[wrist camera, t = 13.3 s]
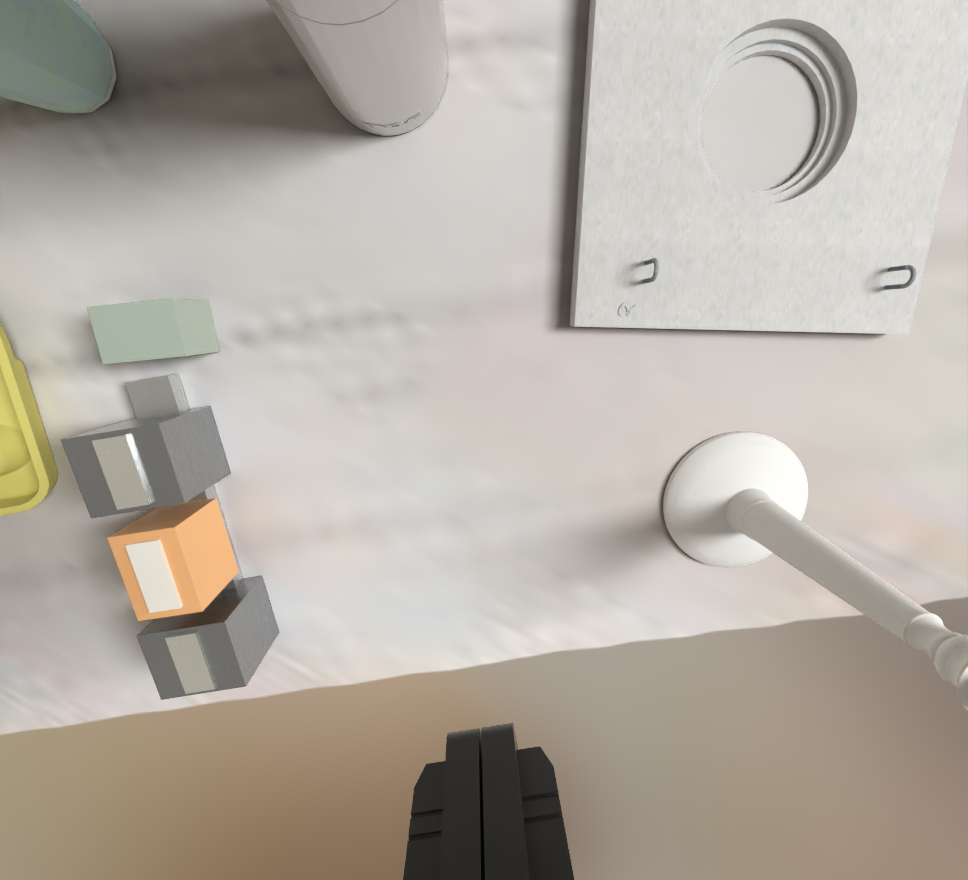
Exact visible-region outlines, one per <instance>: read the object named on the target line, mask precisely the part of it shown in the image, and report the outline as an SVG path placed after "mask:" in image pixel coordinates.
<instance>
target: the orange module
mask: <svg viewBox="0 0 968 880" xmlns="http://www.w3.org/2000/svg"><path fill="white" fill-rule="evenodd" d="M107 539H108V541H109V544H110V547H111V549H112V552H113V555H114V557H115V560H116V563H117V566H118V568H119V571H120V574H121V576H122V579H123V582H124V584H125V587H126V590H127V593H128V595H129V598H130V601H131V603H132V606H133V609H134V611H135V614H136V617H137V620H138V621H143V620H150V619H156V618H163V617H170V616H176V615H183V614H190V613H196V612H203V611H204V609H205V608H206V607H207V606H208V605H209V604H210V603H211V602H212V601H213V600H214V599H215V597H216V596H217V595H218V594H219V593H220V592H221V591H222V590H223V589H224V588H225V586H226V585H227V584H228V583H229V582H230V581H231V580H232V579H233V578H234V577H235V576H236V574H237V573H238V572H239V570H238V567H237V564H236V561H235V557H234V554H233V551H232V547H231V544H230V541H229V538H228V534H227V531H226V528H225V524H224V521H223V518H222V514H221V511H220V508H219V505H218V501H217V498H212V499H206V500H199V501H193V502H186V503H182V504H176V505H169V506H163V507H157V508H155V509H154V510H152V511H151V512H149V513H147V514H146V515H144V516H142V517H141V518H139V519H137V520H136V521H134V522H132V523H131V524H129V525H127V526H126V527H124V528H122V529H121V530H119V531H117V532H116V533H114V534H112V535H111V536H109V537H107Z"/></svg>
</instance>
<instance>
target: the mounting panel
mask: <svg viewBox="0 0 968 880" xmlns="http://www.w3.org/2000/svg"><path fill="white" fill-rule="evenodd" d="M760 55H774V56H778V57H782V58H785V59H787V60H789V61H791V62H793V63H795V64H796V65H797V66H798V67H800V68H801V69H802V70H803V71H804V72H805V73H806V75H807V76H808V77H809V78H810V80H811V82H812V84H813V86H814V88H815V91H816V94H817V97H818V101H819V108H820V124H819V130H818V135H817V138H816V142H815V145H814V147H813V149H812V151H811V153H810V155H809V157H808V159H807V160H806V162H805V163H804V165H803V166H802V168H801V169H800V170H799V171H798V172H797V173H796V174H795V175H794V176H793V177H792V178H790V179H789V180H788V181H787V182H785V183H784V184H782V185H780V186H779V187H777V188H774V189H771V190H766V191H760V192H755V191H745V190H741V189H738V188H736V187H734V186H731V185H729V184H728V183H727V182H725V181H724V180H723V179H721V178H720V177H719V176H718V174H717V173H716V172H715V171H714V170H713V168H712V167H711V165H710V163H709V162H708V159H707V157H706V154H705V151H704V147H703V142H702V130H701V126H702V118H703V112H704V108H705V105H706V102H707V99H708V97H709V95H710V92H711V90H712V89H713V87H714V85H715V84H716V82H717V81H718V79H719V78H720V77H721V76H722V75H723V73H724V72H726V71H727V70H728V69H729V68H730V67H732V66H733V65H735V64H737V63H738V62H740V61H742V60H745V59H748V58H750V57H754V56H760ZM967 80H968V0H590V7H589V23H588V38H587V54H586V70H585V86H584V101H583V117H582V133H581V149H580V165H579V180H578V196H577V212H576V228H575V243H574V259H573V275H572V291H571V307H570V322H569V326H574V327H617V328H660V329H703V330H746V331H789V332H832V333H875V334H910V331H911V326H912V322H913V317H914V313H915V309H916V304H917V300H918V295H919V291H920V287H921V282H922V278H923V273H924V269H925V265H926V260H927V256H928V251H929V247H930V243H931V238H932V234H933V230H934V225H935V221H936V216H937V212H938V208H939V203H940V199H941V194H942V190H943V186H944V181H945V177H946V172H947V168H948V164H949V159H950V155H951V150H952V146H953V142H954V137H955V133H956V128H957V124H958V120H959V115H960V111H961V106H962V102H963V98H964V93H965V89H966V84H967Z"/></svg>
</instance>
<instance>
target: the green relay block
mask: <svg viewBox="0 0 968 880" xmlns="http://www.w3.org/2000/svg"><path fill="white" fill-rule="evenodd" d="M87 310H88V314H89V317H90V321H91V324H92V328H93V331H94V335H95V338H96V342H97V345H98V349H99V352H100V356H101V359H102V363H103V364H112V363H122V362H132V361H142V360H152V359H162V358H172V357H182V356H190V355H198V354H206V353H213V352H220V348H219V343H218V339H217V334H216V330H215V326H214V321H213V317H212V312H211V308H210V304H209V301H203V300H188V299H173V298H171V299H161V300H151V301H141V302H131V303H121V304H111V305H102V306H92V307H87Z"/></svg>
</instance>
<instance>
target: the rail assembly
mask: <svg viewBox="0 0 968 880" xmlns="http://www.w3.org/2000/svg"><path fill="white" fill-rule="evenodd" d="M125 386H126V389H127V391H128V394H129V397H130V400H131V403H132V406H133V409H134V412H135V415H136V418H135V419H129V420H125V421H122V422H119V423H115V424H112V425H108V426H105V427H102V428H98V429H95V430H91V431H88V432H85V433H81V434H78V435H75V436H71V437H68V438H64V439H61V442H62V444H63V447H64V449H65V452H66V455H67V457H68V460H69V462H70V465H71V468H72V470H73V473H74V475H75V478H76V480H77V483H78V486H79V488H80V491H81V493H82V496H83V499H84V501H85V504H86V506H87V509H88V511H89V514H90V517H91V518H96V517H102V516H108V515H114V514H120V513H126V512H133V511H139V510H145V509H151V508H157V507H163V506H169V505H176V504H182V503H186V502H193V501H199V500H206V499H212V498H217V501H218V505H219V508H220V511H221V514H222V518H223V521H224V524H225V528H226V531H227V534H228V538H229V541H230V544H231V547H232V551H233V554H234V557H235V561H236V564H237V567H238V570H239V572H238V573H237V574H236V576H235V577H234V578H233V579H232V580H231V581H230V582H229V583H228V584H227V585H226V586H225V588H224V589H223V590H222V591H221V592H220V593H219V594H218V595H217V596H216V597H215V599H214V600H213V601H212V602H211V603H210V604H209V605H208V606H207V607H206V608H205V609H204V611H203V612H196V613H190V614H183V615H176V616H170V617H163V618H156V619H154V620H153V621H152V622H151V623H150V624H149V625H148V626H147V627H146V628H145V629H144V630H142V631H141V632H140V633H139V634H138V635H137V638H138V641H139V643H140V646H141V648H142V651H143V654H144V656H145V659H146V661H147V664H148V666H149V669H150V672H151V674H152V677H153V679H154V682H155V685H156V687H157V690H158V692H159V695H160V697H161V700H162V699H169V698H175V697H181V696H188V695H194V694H201V693H207V692H213V691H220V690H226V689H232V688H239V687H245V686H247V684H248V682H249V681H250V679H251V678H252V676H253V674H254V673H255V671H256V669H257V668H258V666H259V664H260V663H261V661H262V660H263V658H264V656H265V655H266V653H267V651H268V650H269V648H270V646H271V645H272V643H273V641H274V640H275V638H276V637H277V635H278V633H279V630H278V627H277V623H276V620H275V617H274V614H273V610H272V607H271V604H270V600H269V597H268V594H267V591H266V587H265V584H264V581H263V577H262V576H258V577H252V578H246V579H243V576H242V573H241V570H240V567H239V564H238V560H237V557H236V554H235V551H234V548H233V545H232V541H231V538H230V535H229V532H228V529H227V525H226V522H225V519H224V516H223V513H222V510H221V506H220V503H219V500H218V497H217V494H216V491H215V487H214V484H215V483H217V482H218V481H220V480H221V479H223V478H224V477H226V476H228V475H229V474H231V472H230V469H229V466H228V462H227V459H226V456H225V452H224V449H223V446H222V443H221V439H220V436H219V433H218V429H217V426H216V423H215V419H214V416H213V413H212V410H211V406H207V407H201V408H195V409H190V408H189V405H188V402H187V398H186V395H185V392H184V389H183V386H182V383H181V379H180V376H179V374H175V375H169V376H163V377H157V378H151V379H145V380H139V381H134V382H128V383H125Z"/></svg>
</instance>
